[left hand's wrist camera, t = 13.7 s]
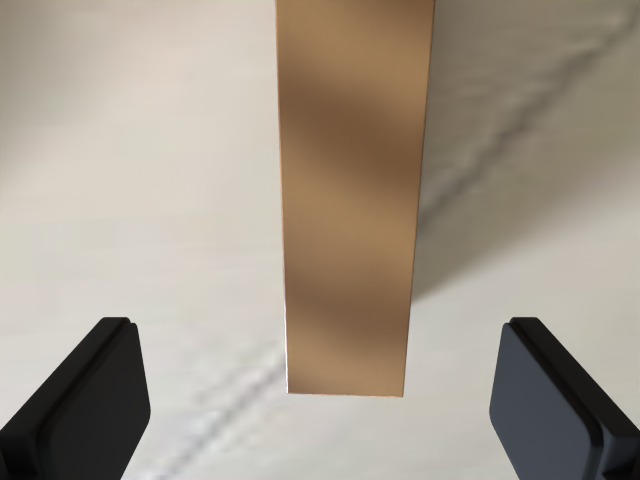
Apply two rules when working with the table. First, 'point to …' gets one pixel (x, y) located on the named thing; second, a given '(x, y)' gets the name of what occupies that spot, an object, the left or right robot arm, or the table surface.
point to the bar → (350, 187)
